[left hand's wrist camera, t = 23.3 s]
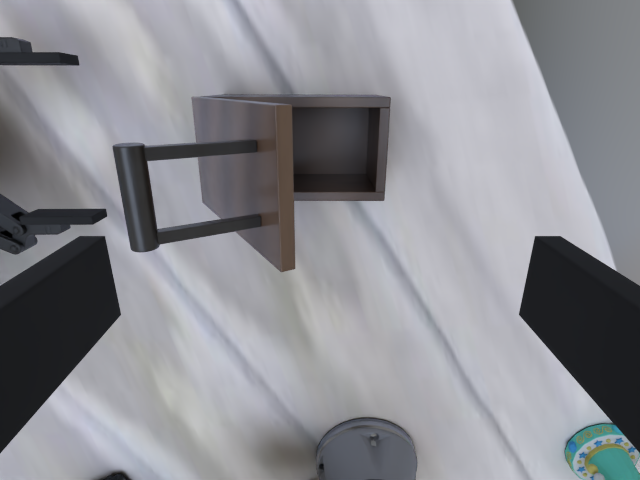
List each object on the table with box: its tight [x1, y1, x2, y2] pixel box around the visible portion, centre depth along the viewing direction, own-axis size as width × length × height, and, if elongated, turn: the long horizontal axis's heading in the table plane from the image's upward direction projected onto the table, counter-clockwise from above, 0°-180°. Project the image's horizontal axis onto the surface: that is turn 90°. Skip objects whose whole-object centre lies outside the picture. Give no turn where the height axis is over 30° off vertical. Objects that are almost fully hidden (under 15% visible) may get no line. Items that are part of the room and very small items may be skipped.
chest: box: [201, 95, 391, 201], centre depth 41 cm, size 17×9×9 cm, turn 90°
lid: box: [113, 97, 295, 272], centre depth 27 cm, size 17×9×8 cm
